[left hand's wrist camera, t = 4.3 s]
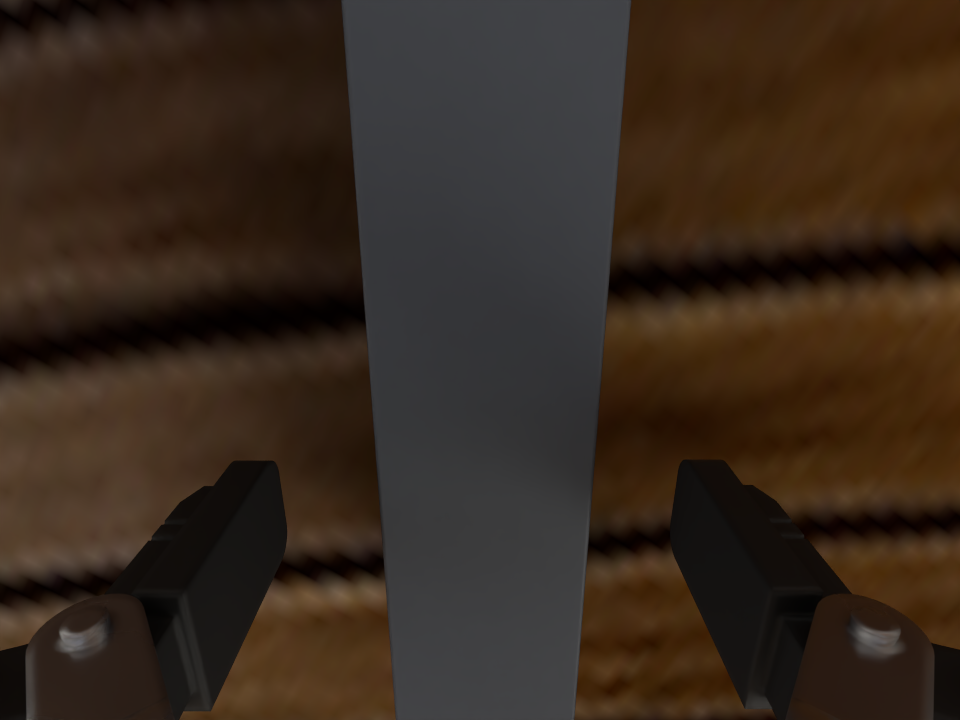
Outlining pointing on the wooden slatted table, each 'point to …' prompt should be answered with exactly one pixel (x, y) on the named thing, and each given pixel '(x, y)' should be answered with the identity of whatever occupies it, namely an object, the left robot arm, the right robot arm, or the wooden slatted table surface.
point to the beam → (485, 331)
